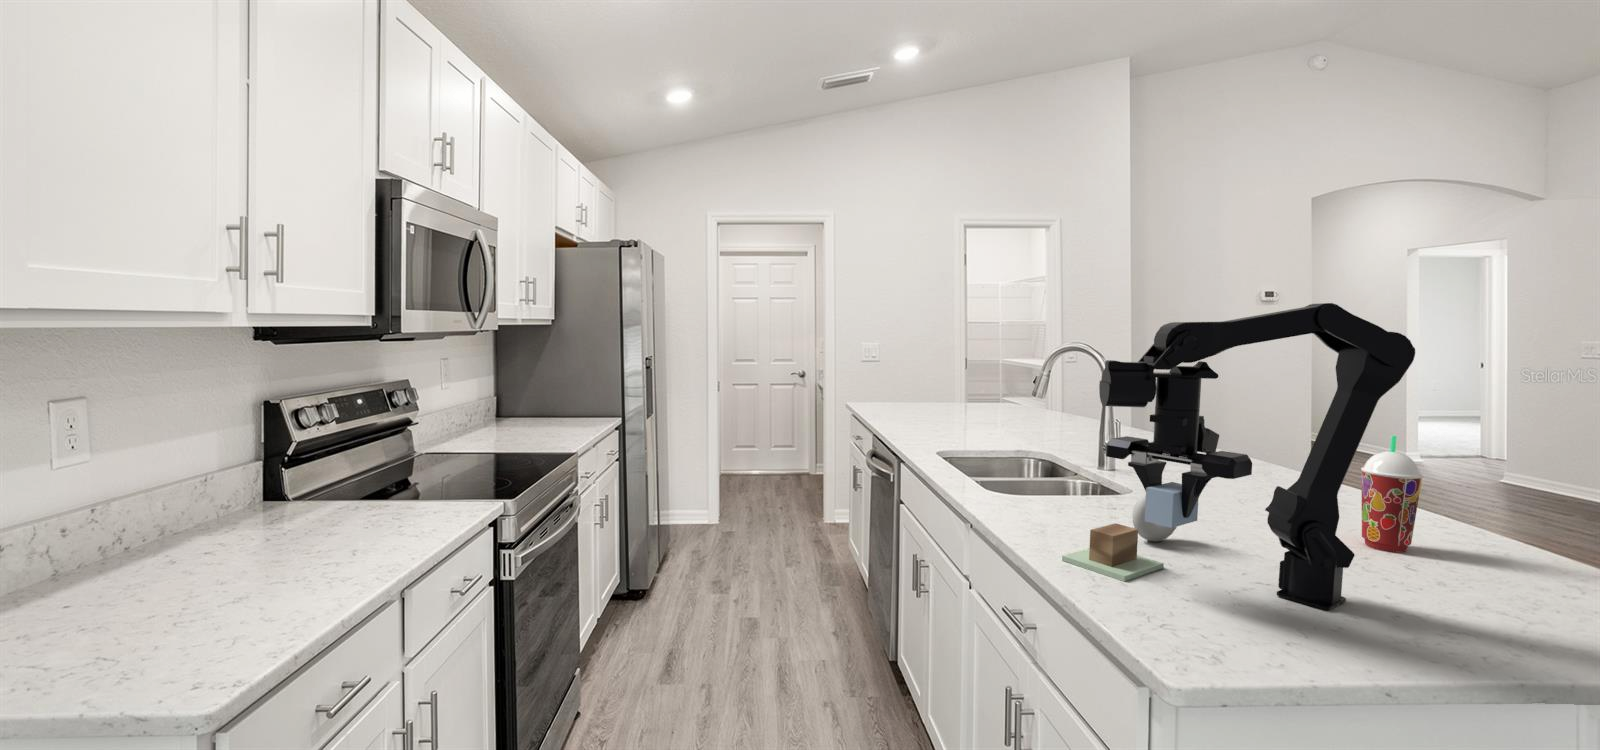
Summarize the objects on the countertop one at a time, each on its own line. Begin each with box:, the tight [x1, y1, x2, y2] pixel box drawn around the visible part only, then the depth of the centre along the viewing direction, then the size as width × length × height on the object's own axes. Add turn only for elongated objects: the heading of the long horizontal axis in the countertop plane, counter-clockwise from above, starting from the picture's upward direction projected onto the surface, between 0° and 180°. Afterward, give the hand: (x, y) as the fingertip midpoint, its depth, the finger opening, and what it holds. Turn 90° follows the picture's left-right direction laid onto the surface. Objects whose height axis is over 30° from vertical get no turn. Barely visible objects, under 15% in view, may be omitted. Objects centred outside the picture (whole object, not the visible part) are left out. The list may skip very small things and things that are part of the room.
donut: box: [1131, 490, 1177, 543], centre depth 127 cm, size 10×4×10 cm, turn 111°
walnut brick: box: [1089, 522, 1139, 567], centre depth 115 cm, size 4×7×5 cm, turn 124°
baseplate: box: [1061, 547, 1165, 582], centre depth 115 cm, size 11×11×1 cm
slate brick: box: [1145, 481, 1199, 528], centre depth 104 cm, size 4×7×5 cm, turn 124°
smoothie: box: [1360, 435, 1424, 553], centre depth 125 cm, size 8×8×20 cm
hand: (1171, 513), depth 104 cm, fingers closed on slate brick, 4 cm apart
